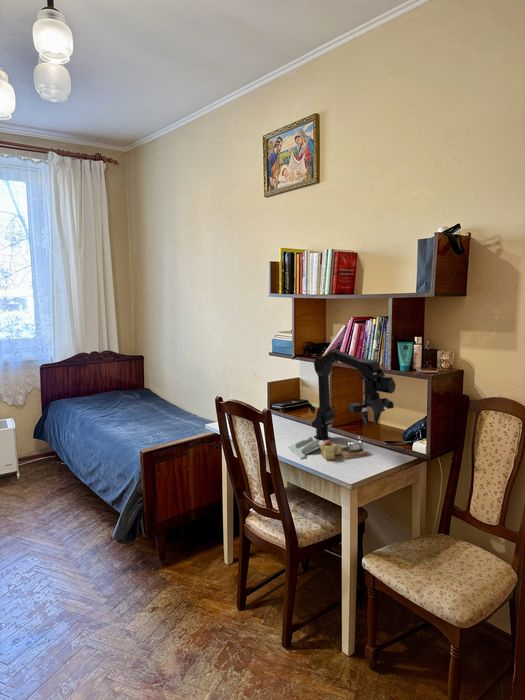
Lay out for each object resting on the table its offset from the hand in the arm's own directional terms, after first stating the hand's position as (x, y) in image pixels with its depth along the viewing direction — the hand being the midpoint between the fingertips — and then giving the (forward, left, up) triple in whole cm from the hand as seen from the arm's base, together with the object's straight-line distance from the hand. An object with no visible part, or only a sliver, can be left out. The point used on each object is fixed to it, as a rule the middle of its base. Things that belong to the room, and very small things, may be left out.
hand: (371, 424), depth 206 cm
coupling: (0, -8, -12) cm, 14 cm away
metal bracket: (-11, -27, -13) cm, 31 cm away
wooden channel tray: (0, -13, -12) cm, 18 cm away
